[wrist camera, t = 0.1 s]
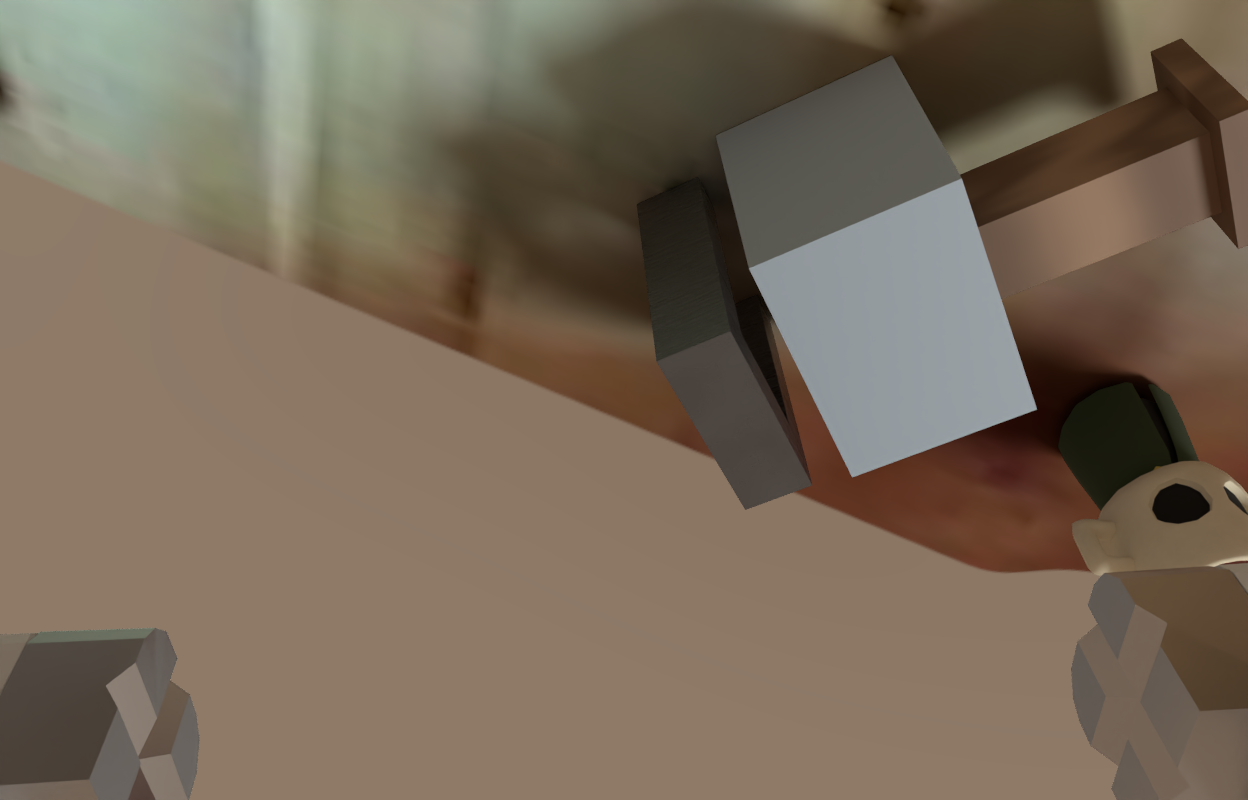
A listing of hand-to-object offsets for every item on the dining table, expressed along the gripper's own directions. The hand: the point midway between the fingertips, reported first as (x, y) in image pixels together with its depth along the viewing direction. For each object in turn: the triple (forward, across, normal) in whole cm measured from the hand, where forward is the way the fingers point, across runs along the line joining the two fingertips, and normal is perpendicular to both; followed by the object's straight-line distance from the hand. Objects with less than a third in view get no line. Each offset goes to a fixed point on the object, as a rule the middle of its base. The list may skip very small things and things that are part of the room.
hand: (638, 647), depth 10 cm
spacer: (+41, -6, +18) cm, 45 cm away
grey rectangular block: (+40, -12, +15) cm, 45 cm away
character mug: (+42, -28, +29) cm, 58 cm away
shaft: (+37, -17, +13) cm, 43 cm away
